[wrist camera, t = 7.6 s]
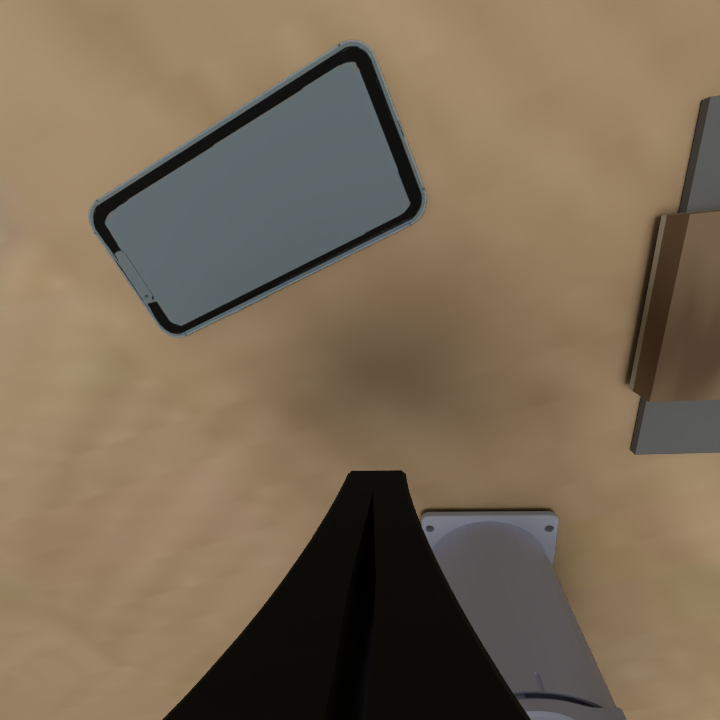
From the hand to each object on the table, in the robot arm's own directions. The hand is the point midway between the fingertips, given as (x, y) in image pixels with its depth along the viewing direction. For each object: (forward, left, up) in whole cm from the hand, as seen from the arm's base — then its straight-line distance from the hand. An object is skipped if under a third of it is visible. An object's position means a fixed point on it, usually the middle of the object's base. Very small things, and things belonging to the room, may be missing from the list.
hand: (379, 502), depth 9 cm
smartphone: (+8, +6, -11) cm, 15 cm away
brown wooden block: (+2, -12, -9) cm, 15 cm away
